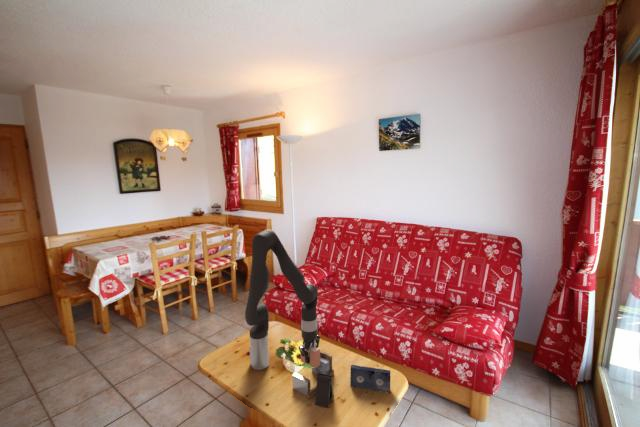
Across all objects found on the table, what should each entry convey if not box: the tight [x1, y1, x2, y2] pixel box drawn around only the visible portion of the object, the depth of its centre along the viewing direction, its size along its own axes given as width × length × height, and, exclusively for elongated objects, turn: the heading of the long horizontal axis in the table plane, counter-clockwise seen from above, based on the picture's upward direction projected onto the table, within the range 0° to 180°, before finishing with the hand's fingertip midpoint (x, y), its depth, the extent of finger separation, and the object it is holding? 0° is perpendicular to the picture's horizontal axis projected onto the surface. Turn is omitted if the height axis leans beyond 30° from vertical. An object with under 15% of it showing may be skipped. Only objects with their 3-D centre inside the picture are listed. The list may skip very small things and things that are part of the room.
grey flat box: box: [292, 372, 312, 397], centre depth 140 cm, size 9×2×7 cm, turn 54°
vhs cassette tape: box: [349, 364, 391, 393], centre depth 141 cm, size 18×3×10 cm, turn 74°
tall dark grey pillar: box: [306, 349, 335, 400], centre depth 146 cm, size 11×20×10 cm, turn 143°
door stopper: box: [314, 373, 334, 408], centre depth 135 cm, size 9×6×12 cm, turn 163°
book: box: [300, 343, 321, 368], centre depth 144 cm, size 4×9×8 cm, turn 53°
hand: (310, 360), depth 144 cm, fingers closed on book, 3 cm apart
